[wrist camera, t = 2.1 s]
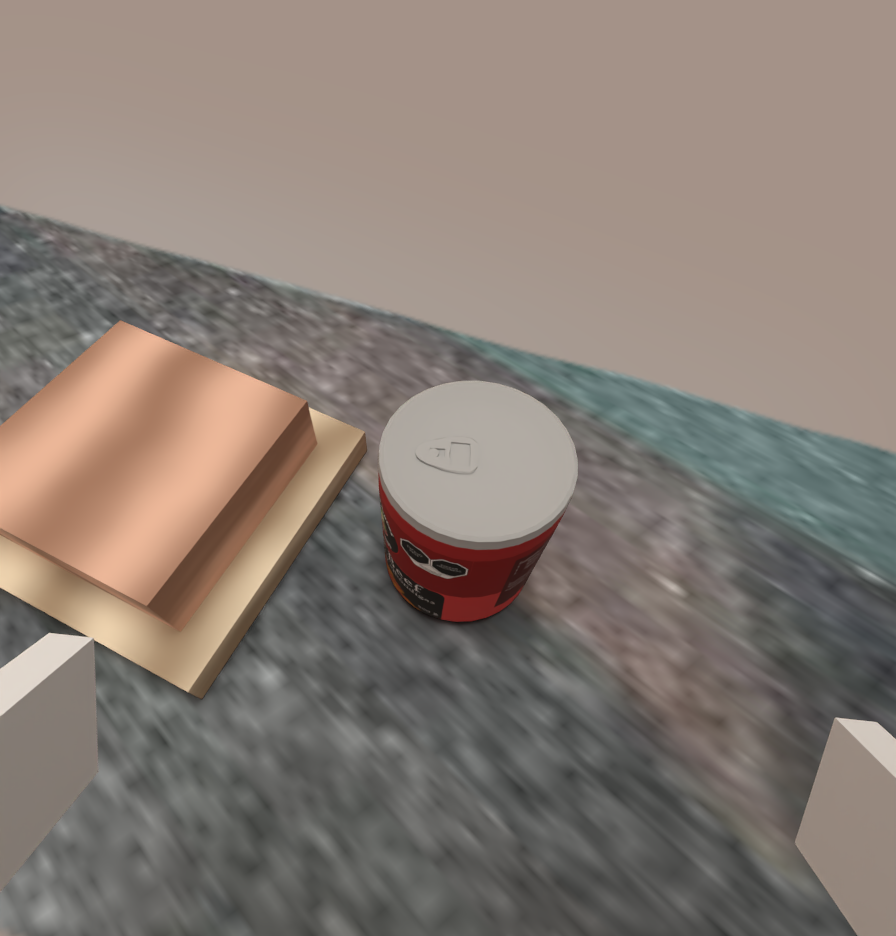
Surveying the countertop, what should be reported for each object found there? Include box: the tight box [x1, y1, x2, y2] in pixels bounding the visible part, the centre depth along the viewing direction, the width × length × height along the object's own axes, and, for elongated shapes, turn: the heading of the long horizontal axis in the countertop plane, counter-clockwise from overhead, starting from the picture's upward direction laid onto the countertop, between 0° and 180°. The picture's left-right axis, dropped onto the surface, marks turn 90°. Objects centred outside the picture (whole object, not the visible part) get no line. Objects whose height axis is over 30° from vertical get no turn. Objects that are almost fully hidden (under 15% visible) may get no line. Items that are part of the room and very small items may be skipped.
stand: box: [0, 321, 367, 699], centre depth 29 cm, size 16×16×6 cm
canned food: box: [378, 381, 578, 622], centre depth 26 cm, size 8×8×11 cm
